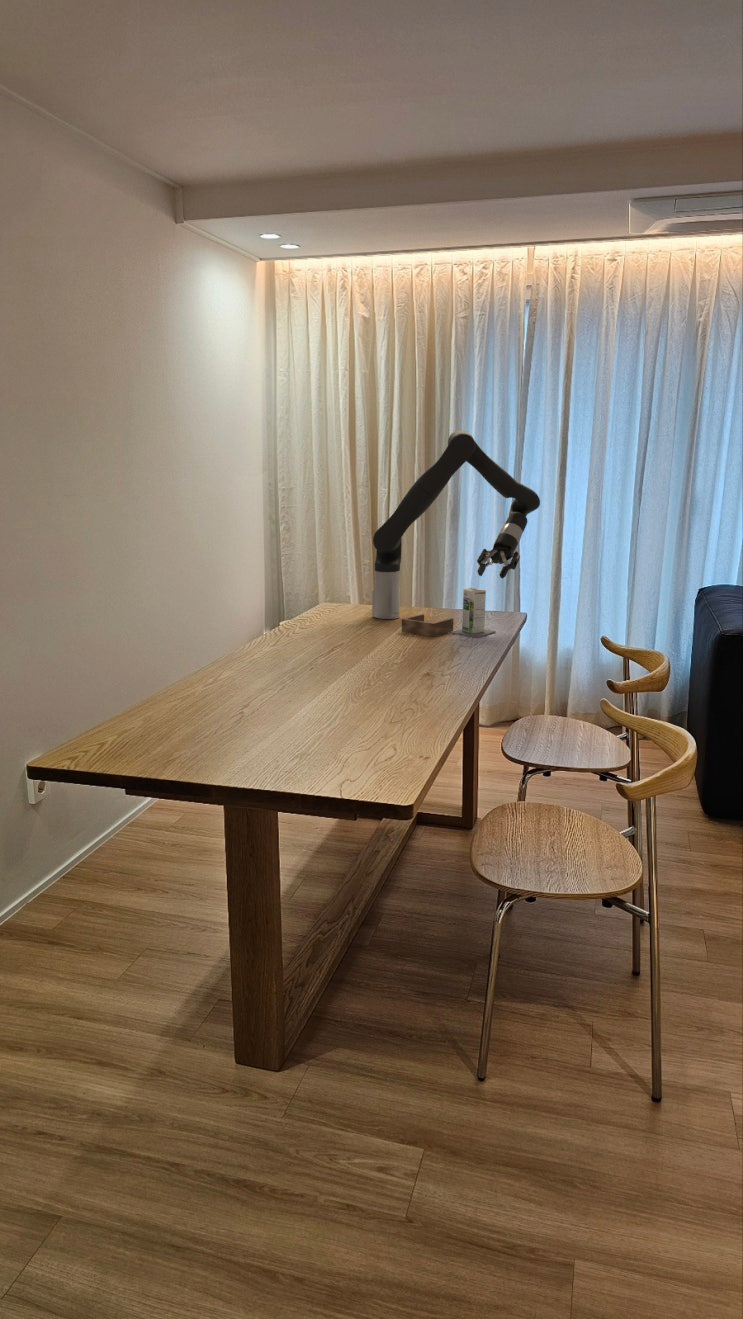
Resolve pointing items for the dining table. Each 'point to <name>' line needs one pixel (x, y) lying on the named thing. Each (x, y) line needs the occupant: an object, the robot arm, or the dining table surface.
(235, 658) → the dining table surface
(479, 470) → the robot arm
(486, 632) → the grey mat
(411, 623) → the walnut cubby
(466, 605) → the syrup box
